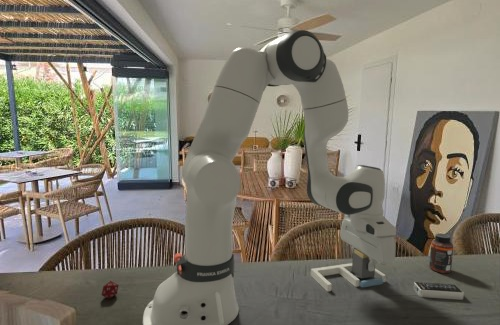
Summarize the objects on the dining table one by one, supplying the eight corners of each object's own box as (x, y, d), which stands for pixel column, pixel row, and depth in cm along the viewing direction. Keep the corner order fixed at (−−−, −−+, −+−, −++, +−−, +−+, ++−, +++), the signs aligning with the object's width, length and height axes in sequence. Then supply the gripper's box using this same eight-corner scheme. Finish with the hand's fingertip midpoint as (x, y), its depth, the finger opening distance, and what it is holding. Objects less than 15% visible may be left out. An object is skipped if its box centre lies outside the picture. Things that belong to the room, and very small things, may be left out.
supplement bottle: (454, 275, 92) (458, 239, 91) (433, 273, 93) (436, 238, 92) (446, 266, 98) (449, 232, 97) (426, 264, 99) (428, 231, 98)
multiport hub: (463, 301, 79) (464, 292, 79) (419, 298, 80) (420, 290, 80) (454, 291, 83) (455, 284, 83) (412, 289, 85) (413, 281, 84)
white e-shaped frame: (329, 293, 81) (329, 286, 81) (310, 275, 91) (310, 268, 91) (387, 283, 87) (387, 276, 87) (364, 267, 97) (364, 261, 96)
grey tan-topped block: (361, 278, 87) (362, 255, 86) (351, 271, 91) (353, 249, 90) (374, 276, 88) (375, 253, 87) (364, 269, 92) (365, 247, 91)
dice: (100, 302, 76) (99, 288, 76) (105, 293, 80) (104, 279, 80) (116, 301, 77) (115, 286, 76) (120, 291, 81) (119, 277, 81)
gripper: (336, 211, 96) (334, 252, 98) (381, 233, 77) (378, 284, 79) (353, 209, 98) (351, 250, 100) (401, 231, 79) (397, 280, 80)
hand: (363, 265), depth 89 cm, fingers closed on grey tan-topped block, 4 cm apart
